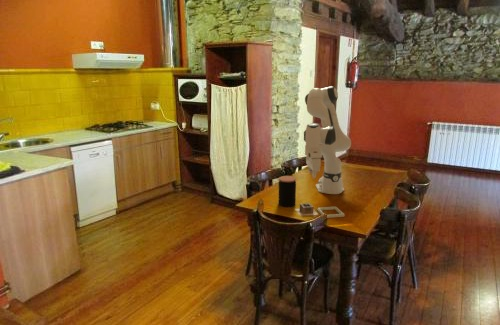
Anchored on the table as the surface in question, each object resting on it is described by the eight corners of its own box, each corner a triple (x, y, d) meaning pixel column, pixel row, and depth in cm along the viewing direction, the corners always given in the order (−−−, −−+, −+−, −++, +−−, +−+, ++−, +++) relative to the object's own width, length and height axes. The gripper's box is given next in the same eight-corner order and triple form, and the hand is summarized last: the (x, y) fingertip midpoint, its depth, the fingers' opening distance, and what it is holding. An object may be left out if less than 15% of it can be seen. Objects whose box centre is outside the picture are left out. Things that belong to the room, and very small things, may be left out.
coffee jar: (298, 207, 218) (299, 179, 213) (282, 209, 215) (283, 181, 210) (290, 201, 228) (291, 175, 223) (275, 203, 224) (276, 176, 220)
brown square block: (299, 209, 211) (299, 203, 210) (309, 209, 212) (309, 202, 211) (302, 214, 205) (303, 207, 204) (313, 213, 206) (313, 206, 205)
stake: (294, 210, 213) (294, 201, 212) (312, 209, 215) (312, 200, 214) (300, 217, 203) (300, 208, 202) (318, 216, 205) (318, 207, 203)
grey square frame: (316, 211, 211) (317, 207, 211) (335, 210, 213) (335, 206, 213) (324, 219, 200) (324, 215, 199) (344, 218, 202) (344, 214, 201)
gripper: (303, 148, 211) (303, 171, 214) (311, 155, 191) (310, 180, 194) (314, 148, 211) (313, 170, 214) (322, 155, 191) (322, 179, 194)
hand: (312, 175), depth 204 cm, fingers open, 8 cm apart
